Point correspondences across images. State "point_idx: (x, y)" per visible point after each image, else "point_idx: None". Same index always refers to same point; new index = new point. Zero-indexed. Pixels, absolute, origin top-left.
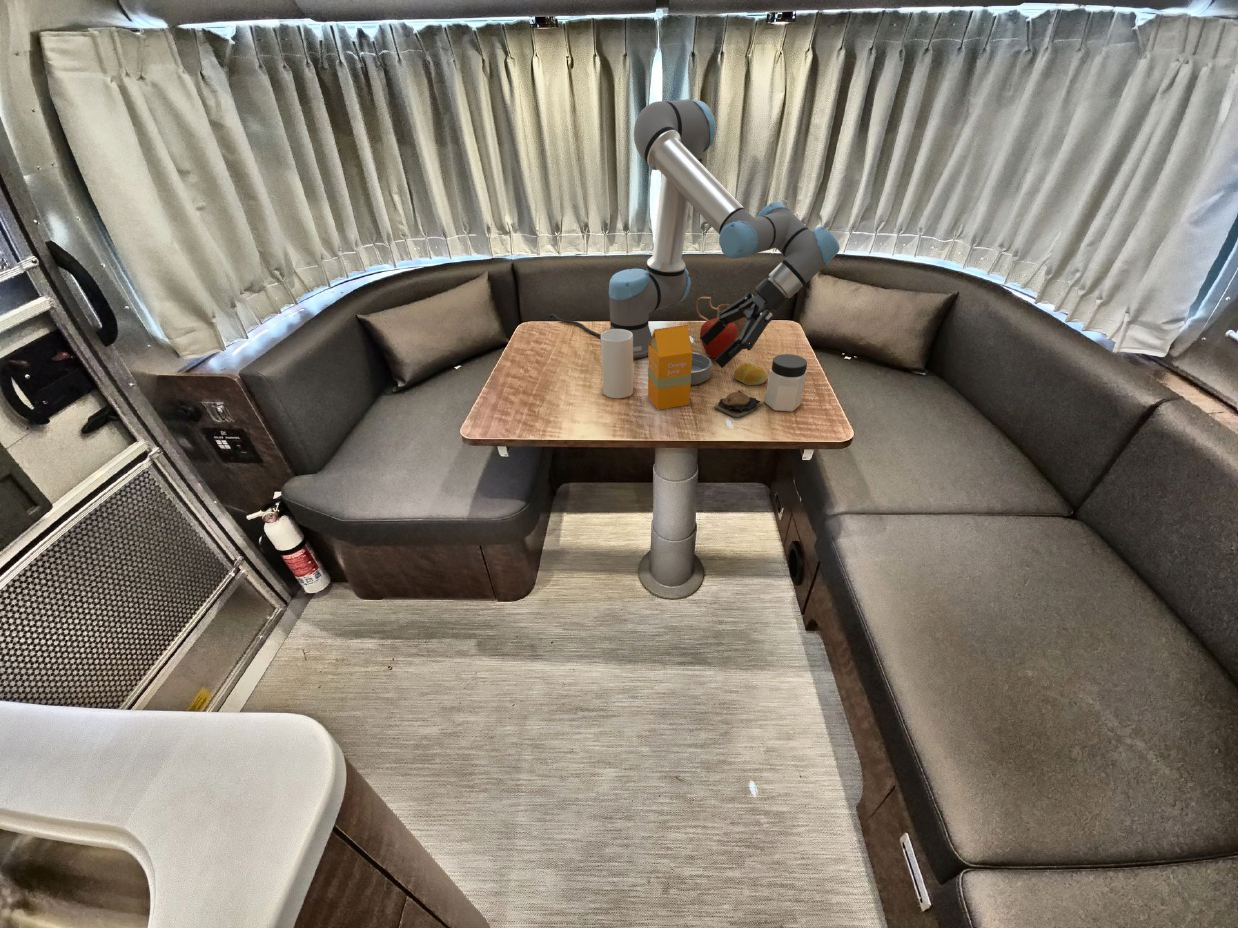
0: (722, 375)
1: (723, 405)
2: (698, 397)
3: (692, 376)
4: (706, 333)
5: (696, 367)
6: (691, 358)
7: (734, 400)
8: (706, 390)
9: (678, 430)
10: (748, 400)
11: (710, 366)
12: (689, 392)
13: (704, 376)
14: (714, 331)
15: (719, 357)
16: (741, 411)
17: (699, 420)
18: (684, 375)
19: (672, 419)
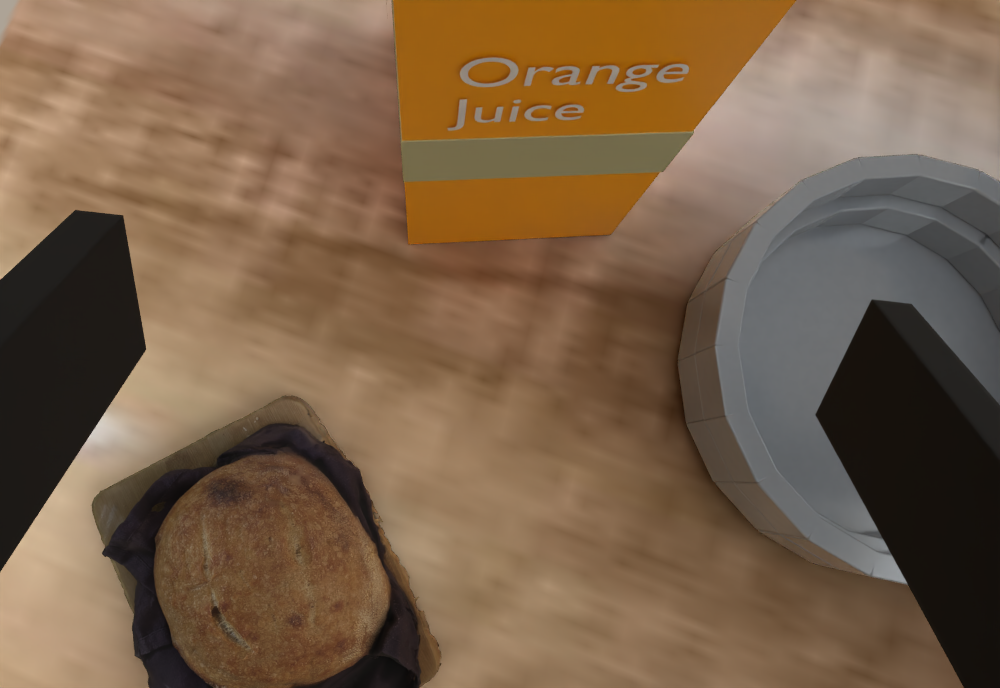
0: (799, 659)
1: (243, 447)
2: (493, 345)
3: (701, 344)
4: (926, 371)
5: None
6: (396, 35)
7: (188, 526)
8: (583, 441)
9: (95, 63)
10: (191, 662)
11: (804, 535)
12: (406, 207)
13: (722, 462)
14: (948, 510)
15: (32, 256)
16: (105, 551)
17: (173, 236)
18: (397, 74)
19: (245, 73)
